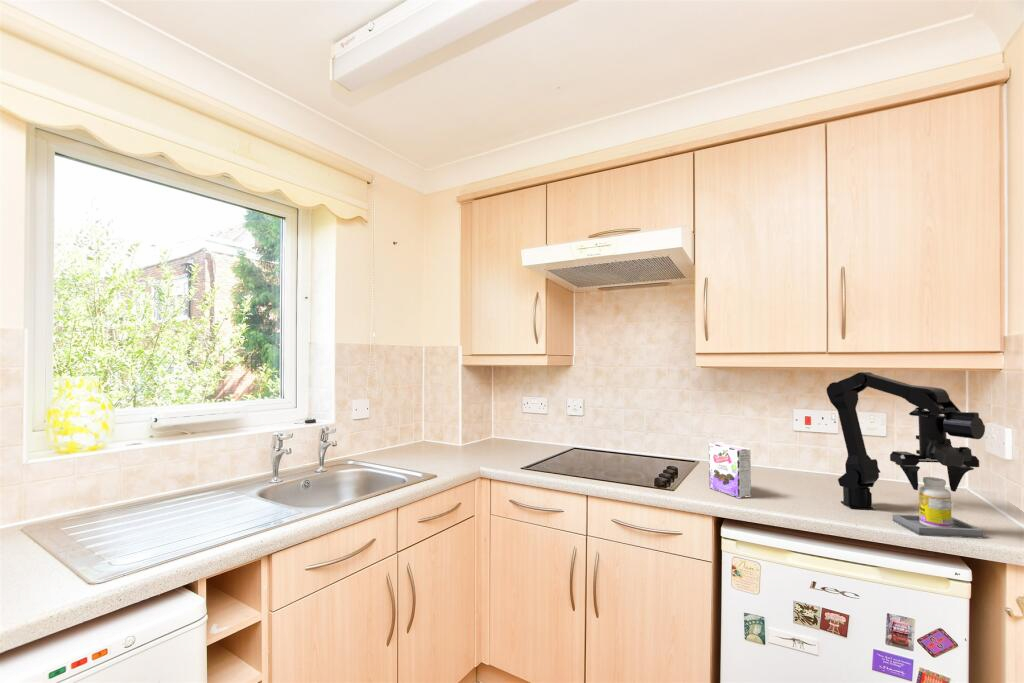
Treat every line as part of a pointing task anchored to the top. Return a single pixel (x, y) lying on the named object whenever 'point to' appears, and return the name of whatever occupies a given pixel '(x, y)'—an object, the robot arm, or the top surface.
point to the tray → (956, 530)
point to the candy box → (730, 469)
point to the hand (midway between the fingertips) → (934, 490)
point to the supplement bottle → (934, 503)
